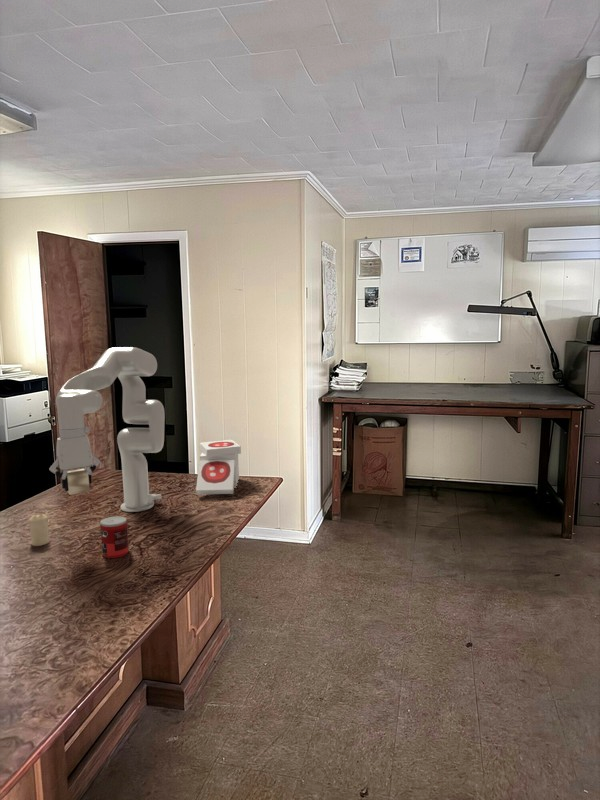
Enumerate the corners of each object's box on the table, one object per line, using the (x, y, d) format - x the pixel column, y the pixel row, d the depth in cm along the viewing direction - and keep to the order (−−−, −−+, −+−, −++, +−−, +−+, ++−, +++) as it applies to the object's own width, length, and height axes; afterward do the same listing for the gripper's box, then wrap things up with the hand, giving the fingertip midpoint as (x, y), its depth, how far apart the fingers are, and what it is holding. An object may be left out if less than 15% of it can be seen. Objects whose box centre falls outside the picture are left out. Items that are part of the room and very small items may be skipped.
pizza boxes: (191, 499, 234) (189, 456, 231) (202, 478, 264) (201, 440, 261) (238, 498, 234) (237, 455, 232) (244, 477, 264) (243, 439, 261)
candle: (53, 540, 194) (50, 512, 192) (41, 546, 189) (38, 517, 187) (40, 538, 196) (37, 510, 194) (27, 545, 191) (24, 516, 189)
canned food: (105, 549, 186) (103, 516, 184) (131, 548, 186) (128, 515, 185) (99, 559, 178) (97, 525, 177) (126, 557, 179) (123, 524, 177)
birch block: (85, 486, 188) (83, 468, 187) (89, 491, 183) (88, 472, 182) (65, 489, 184) (63, 471, 183) (69, 494, 179) (68, 476, 178)
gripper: (97, 427, 188) (101, 480, 191) (40, 434, 179) (46, 490, 182) (103, 431, 182) (108, 486, 185) (45, 439, 173) (50, 496, 176)
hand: (77, 487), depth 183 cm, fingers closed on birch block, 6 cm apart
